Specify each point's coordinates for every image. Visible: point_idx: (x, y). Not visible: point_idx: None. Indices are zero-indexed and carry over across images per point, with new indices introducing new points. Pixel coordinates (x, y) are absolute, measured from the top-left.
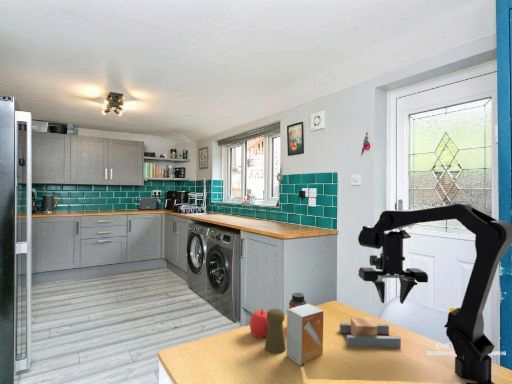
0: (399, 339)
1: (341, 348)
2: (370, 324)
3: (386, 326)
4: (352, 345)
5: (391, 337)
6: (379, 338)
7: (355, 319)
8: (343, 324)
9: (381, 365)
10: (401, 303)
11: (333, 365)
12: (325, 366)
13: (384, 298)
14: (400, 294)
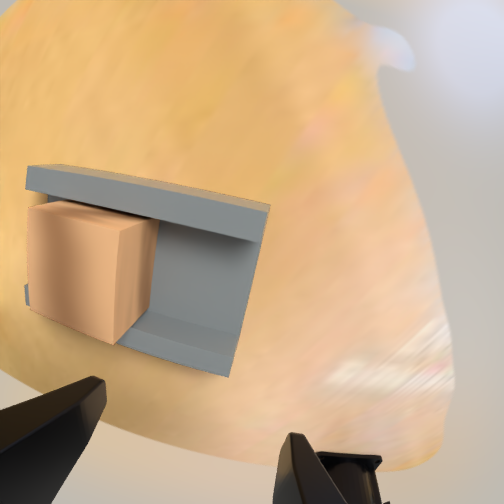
0: (222, 374)
1: None
2: (88, 314)
3: (246, 237)
4: None
5: (190, 357)
6: (131, 348)
7: (40, 236)
8: (34, 185)
9: (123, 388)
10: (280, 451)
11: (16, 342)
12: (4, 338)
13: (83, 449)
14: (294, 501)
